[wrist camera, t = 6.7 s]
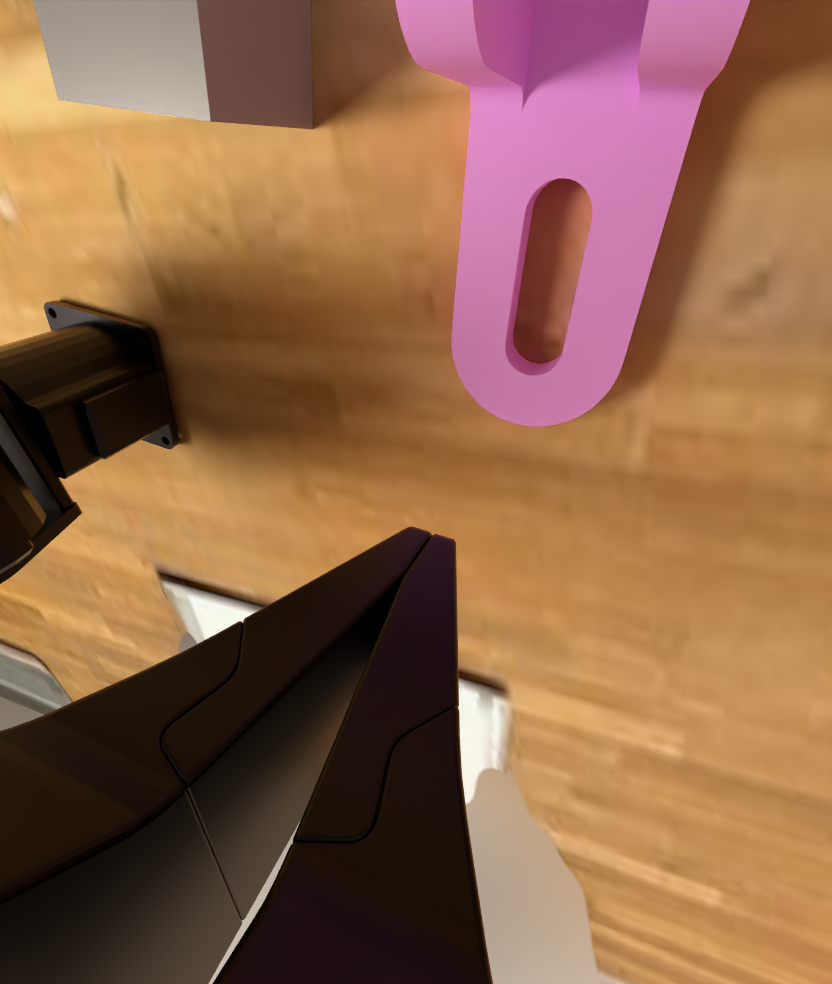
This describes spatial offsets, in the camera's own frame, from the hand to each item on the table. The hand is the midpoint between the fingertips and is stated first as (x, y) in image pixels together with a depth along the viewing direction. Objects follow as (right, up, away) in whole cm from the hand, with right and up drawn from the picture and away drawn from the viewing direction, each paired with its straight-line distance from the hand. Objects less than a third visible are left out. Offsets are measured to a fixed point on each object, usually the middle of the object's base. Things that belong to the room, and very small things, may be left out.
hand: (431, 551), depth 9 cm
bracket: (+4, +10, +6) cm, 12 cm away
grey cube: (-6, +16, +7) cm, 18 cm away
